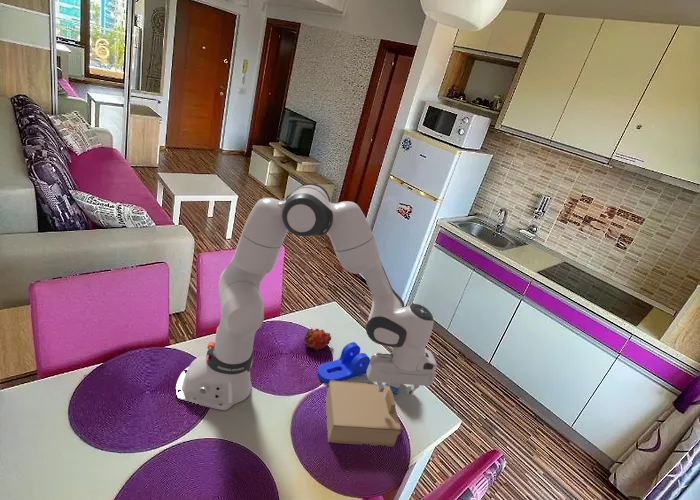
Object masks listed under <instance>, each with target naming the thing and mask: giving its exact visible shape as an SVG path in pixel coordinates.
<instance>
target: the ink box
mask: <svg viewBox="0 0 700 500" xmlns="http://www.w3.org/2000/svg"><path fill="white" fill-rule="evenodd" d="M384 385H388V386H390V390H392V393H393V395H394V394H395V395H397V394H398V393H399V390H400V388H401V387H400V386H401V384H397V383H385V384H384Z"/></svg>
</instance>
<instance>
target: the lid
mask: <svg viewBox="0 0 700 500" xmlns="http://www.w3.org/2000/svg"><path fill="white" fill-rule="evenodd" d="M329 384H330V392H331V403H332V414H333V430H340V431H355V432H369V433H383V434H398V436H399V435H400V434H401V431H402V428H401V424H400V420H399V416H398V413H397V410H396V405H397V404H396V401H395V398H394V393H392V390H390V386H388V385H385V384H383V387H384V390H383V392H378V390H377V387H378V384H374V383H366V382H365V383H364V382H356V381H355V382H354V381H346V380H344V381H335V380H330V382H329ZM329 384H328V385H329Z"/></svg>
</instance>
